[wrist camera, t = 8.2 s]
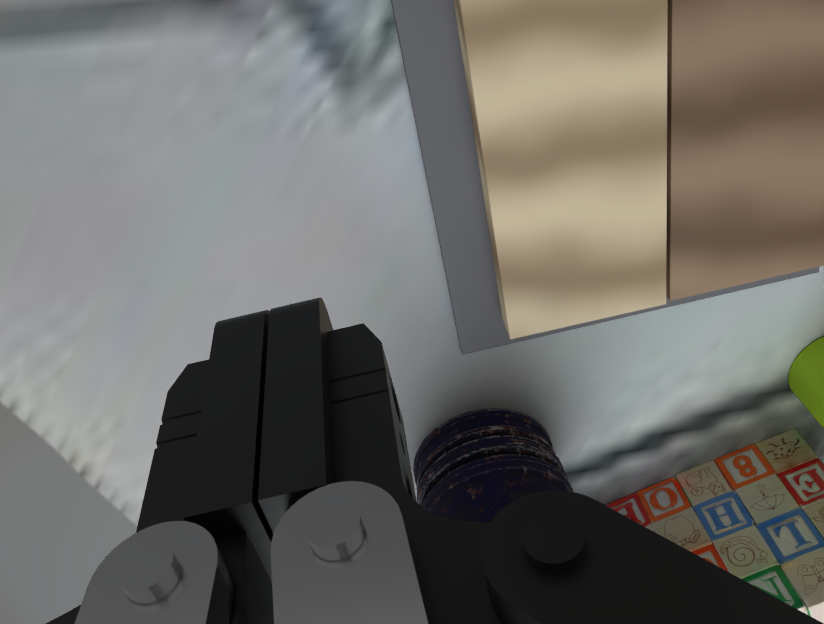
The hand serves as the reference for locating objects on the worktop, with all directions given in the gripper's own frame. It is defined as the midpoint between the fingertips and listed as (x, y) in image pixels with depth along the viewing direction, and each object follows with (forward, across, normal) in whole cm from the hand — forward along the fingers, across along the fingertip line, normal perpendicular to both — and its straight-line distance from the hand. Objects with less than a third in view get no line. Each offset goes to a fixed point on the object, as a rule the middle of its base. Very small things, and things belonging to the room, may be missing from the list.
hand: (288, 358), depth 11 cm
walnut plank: (+27, -20, +9) cm, 35 cm away
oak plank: (+26, -11, +9) cm, 30 cm away
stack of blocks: (+27, -17, +41) cm, 52 cm away
